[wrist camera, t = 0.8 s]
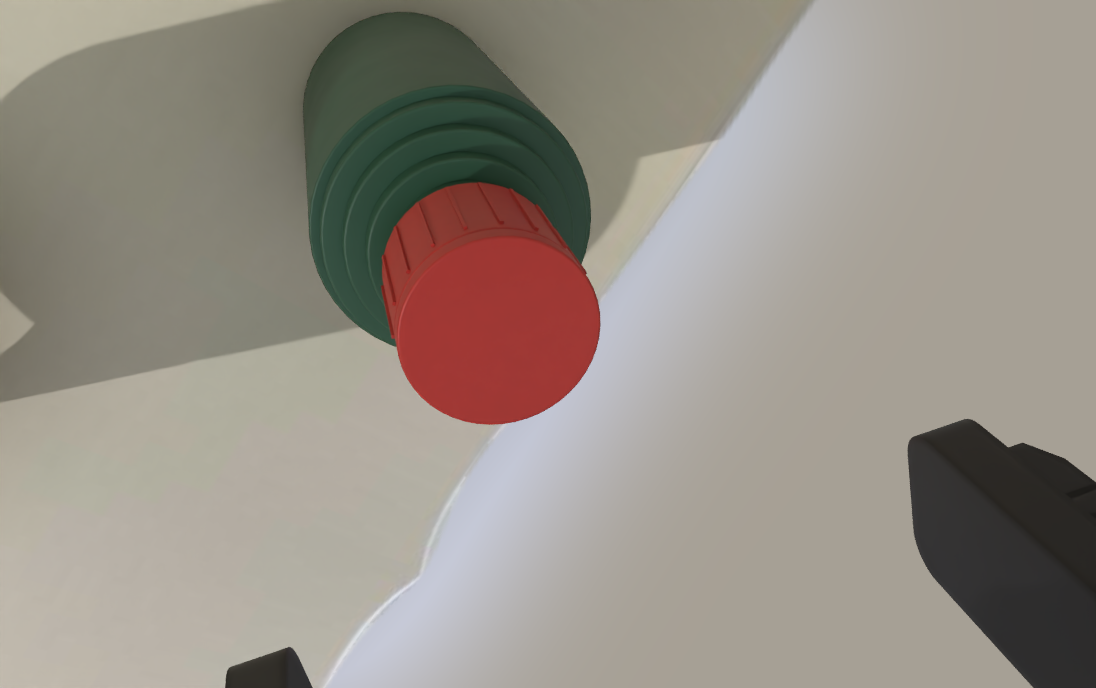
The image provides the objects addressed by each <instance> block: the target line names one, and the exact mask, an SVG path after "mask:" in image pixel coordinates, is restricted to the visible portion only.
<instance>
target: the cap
mask: <svg viewBox="0 0 1096 688" xmlns="http://www.w3.org/2000/svg"><path fill="white" fill-rule="evenodd" d="M393 229H394V230H393V231H392V233H391V235H390V238H389V240H388V242H387V245H386V249H385V252H384V255H382V262H383V264H382V279H383V285H381V290H382V295H383V300H384V304H385V309H386V314H387V319H388V323H389V328H390V333H391V338H392V339H394V338H395V342H396V347H397V351H398V356H399V359H400V363H401V366H402V369H403V371H404V373H405V375H406V377H407V379H408V381H409V382H410V384H411V385H412V387H413V388H414V389H415V391H416V392H417V393H418V394H419V395H420V396H421V397H422V398H423V399H424V400H425V401H426V402H428V403H429V404H430V405H431V406H433V407H434V408H436V409H437V410H439V411H440V412H442V413H444V414H447V415H449V416H451V417H453V418H456V419H459V420H462V421H466V422H471V423H476V424H489V425H490V424H505V423H511V422H516V421H519V420H523V419H527V418H529V417H532V416H534V415H537V414H539V413H541V412H543V411H545V410H546V409H548V408H550V407H551V406H553V405H554V404H556V403H557V402H559V401H560V400H561V399H562V398H564V397H565V396H566V395H567V394H568V393H569V392H570V391H571V390H572V389H573V388H574V387H575V386H576V385H577V384H578V382H579V381H580V380H581V378H582V377H583V375H584V374H585V373H586V371H587V369H588V367H589V365H590V363H591V361H592V359H593V356H594V354H595V351H596V348H597V344H598V340H599V332H600V311H599V305H598V300H597V297H596V294H595V291H594V289H593V287H592V285H591V283H590V281H589V279H588V277H587V276H586V274H587V273H586V271H585V269H584V268H583V266H582V265H581V264H580V262H579V261H578V259H577V258H576V256H575V255H574V254H573V252H572V251H571V249H570V248H569V247H568V245H567V244H566V242H565V241H564V240H563V238H562V237H561V235H560V234H559V233H558V231H557V230H556V228H554V227H553V225H552V224H551V222H550V221H549V220H548V218H547V217H546V215H545V214H544V213H543V211H542V210H541V208H540V207H539V206H538V205H537V204H536V205H534V204H533V203H532V202H530V201H529V200H528V199H527V198H525V197H523V196H522V195H520V194H518V193H517V192H515V191H514V190H513V189H511V188H510V189H508V188H505V187H501V186H498V185H494V184H487V183H481V182H478V183H464V184H457V185H453V186H449V187H445V188H443V189H441V190H438V191H436V192H434V193H432V194H430V195H428V196H426V197H424V198H423V199H422V200H420V201H419V202H417V203H415V205H414V206H413V207H411V208H410V209H409V210H408V211H407V212H406V213H405V214H404V216H403V217H402V218H401V219H400V221H399V222H398V223H397V225H396V226H394V228H393Z"/></svg>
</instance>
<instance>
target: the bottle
mask: <svg viewBox="0 0 1096 688" xmlns="http://www.w3.org/2000/svg"><path fill="white" fill-rule="evenodd" d="M303 118H304V139H305V159H306V179H307V199H308V219H309V238H310V244H311V250H312V255H313V258H314V262H315V265H316V268H317V271H318V273H319V276H320V278H321V280H322V282H323V284H324V286H325V288H326V290H327V291H328V293H329V294H330V296H331V297H332V299H333V300H334V302H335V303H336V304H337V305H338V306H339V308H340V309H341V310H342V311H343V312H344V313H345V314H346V316H348V317H349V318H350V319H351V320H352V321H353V322H354V323H356V324H357V325H358V326H359V327H360V328H362V329H363V330H365V331H366V332H368V333H369V334H371V335H372V336H374V337H376V338H378V339H380V340H382V341H384V342H386V343H388V344H390V345H393V346H395V347H396V342H395V338H394V339H392V338H391V333H390V328H389V323H388V319H387V314H386V309H385V304H384V300H383V295H382V290H381V285H383V279H382V264H383V262H382V255H384V252H385V249H386V245H387V242H388V240H389V238H390V235H391V233H392V231H393V230H394V229H393V228H394V226H396V225H397V223H398V222H399V221H400V219H401V218H402V217H403V216H404V214H405V213H406V212H407V211H408V210H409V209H410V208H411V207H413V206H414V205H415V203H417V202H419V201H420V200H422V199H423V198H424V197H426V196H428V195H430V194H432V193H434V192H436V191H438V190H441V189H443V188H445V187H449V186H453V185H457V184H464V183H478V182H481V183H487V184H494V185H498V186H501V187H505V188H508V189H510V188H511V189H513V190H514V191H515V192H517V193H518V194H520V195H522V196H523V197H525V198H527V199H528V200H529V201H530V202H532V203H533V204H534V205H536V204H537V205H538V206H539V207H540V208H541V210H542V211H543V213H544V214H545V215H546V217H547V218H548V220H549V221H550V222H551V224H552V225H553V227H554V228H556V230H557V231H558V233H559V234H560V235H561V237H562V238H563V240H564V241H565V242H566V244H567V245H568V247H569V248H570V249H571V251H572V252H573V254H574V255H575V256H576V258H577V259H578V261H579V262H580V264H582V261H583V258H584V255H585V253H586V248H587V244H588V239H589V234H590V223H591V209H590V197H589V192H588V186H587V182H586V179H585V176H584V173H583V170H582V167H581V165H580V163H579V161H578V159H577V157H576V154H575V152H574V151H573V149H572V148H571V146H570V145H569V143H568V142H567V140H566V139H565V137H564V136H563V135H562V134H561V133H560V131H559V130H558V129H557V128H556V127H555V126H554V125H553V124H552V123H551V122H550V120H549V119H548V118H547V117H546V116H545V115H544V114H543V113H542V112H541V111H540V110H539V109H538V108H537V107H536V106H535V105H534V104H533V103H532V102H531V101H530V100H529V99H528V98H527V97H526V96H525V95H524V94H523V93H522V92H521V91H520V90H519V89H518V88H517V87H516V86H515V85H514V84H513V83H512V81H511V80H510V79H509V78H508V77H507V76H506V75H505V74H504V73H503V72H502V71H501V70H500V69H499V68H498V67H497V66H496V65H495V64H494V63H493V62H492V61H491V60H490V59H489V58H488V57H487V56H486V55H485V54H484V53H483V52H482V51H481V50H480V49H479V48H478V47H477V46H476V45H475V44H474V42H473V41H471V40H470V39H469V38H468V37H467V36H466V35H465V34H463V33H462V32H461V31H459V30H458V29H456V28H455V27H453V26H452V25H450V24H448V23H446V22H443V21H441V20H439V19H436V18H433V17H430V16H427V15H423V14H417V13H408V12H395V13H385V14H381V15H377V16H372V17H370V18H367V19H365V20H362V21H359V22H358V23H356V24H354V25H352V26H350V27H349V28H347V29H346V30H344V31H343V32H342V33H340V34H339V35H338V36H337V37H336V38H334V39H333V40H332V41H331V42H330V43H329V44H328V45H327V47H326V48H325V49H324V51H323V52H322V53H321V55H320V56H319V58H318V59H317V61H316V63H315V65H314V66H313V68H312V71H311V73H310V76H309V78H308V81H307V85H306V89H305V94H304V103H303Z"/></svg>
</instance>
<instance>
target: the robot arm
mask: <svg viewBox="0 0 1096 688" xmlns="http://www.w3.org/2000/svg"><path fill="white" fill-rule="evenodd" d="M908 463H909V477H910V490H911V502H912V516H913V528H914V535H915V540H916V544H917V546H918V549H919V552H920V555H921V557H922V559H923V561H924V563H925V565H926V567H927V568H928V570H929V571H930V573H931V574H932V576H933V577H934V578H935V580H936V581H937V582H938V583H939V584H940V585H941V586H942V587H943V589H944V590H945V591H946V592H947V593H948V594H949V595H950V596H951V597H952V598H953V600H954V601H955V602H956V603H957V604H958V605H959V606H960V607H961V608H962V609H963V611H964V612H965V613H966V614H967V615H968V616H969V617H970V618H971V619H972V621H973V622H974V623H975V624H976V625H977V626H978V627H979V628H980V629H981V630H982V632H983V633H984V634H985V635H986V636H987V637H988V638H989V639H990V640H991V641H992V643H993V644H994V645H995V646H996V647H997V648H998V649H999V650H1000V651H1001V652H1002V654H1003V655H1004V656H1005V657H1006V658H1007V659H1008V660H1009V661H1010V662H1011V663H1012V664H1013V666H1014V667H1015V668H1016V669H1017V670H1018V671H1019V672H1020V673H1021V674H1022V676H1023V677H1024V678H1025V679H1026V680H1027V681H1028V682H1029V683H1030V684H1031V685H1032V686H1033V688H1096V482H1095V481H1093V480H1092V479H1091V478H1090V477H1088V476H1087V475H1086V474H1084V473H1083V472H1082V471H1080V470H1079V469H1078V468H1076V467H1075V466H1074V465H1072V464H1071V463H1070V462H1069V461H1067V460H1066V459H1064V458H1062V457H1059V456H1056V455H1054V454H1051V453H1049V452H1046V451H1043V450H1040V449H1038V448H1035V447H1033V446H1030V445H1027V444H1025V443H1020V444H1017V445H1014V446H1012V447H1009V448H1008V447H1007V446H1005V445H1004V444H1003V443H1002V442H1001V441H999V440H998V439H997V438H995V437H994V436H993V435H992V434H991V433H989V432H988V431H987V430H986V429H984V428H983V427H982V426H981V425H980V424H978V423H977V422H975V421H973V420H970V419H964V420H961V421H958V422H955V423H952V424H950V425H947V426H944V427H941V428H938V429H935V430H932V431H929V432H926V433H923V434H920V435H917V436H914V437H912V438H911V440H910V441H909V444H908ZM225 688H312V686H311V683H310V681H309V679H308V677H307V675H306V673H305V670H304V668H303V666H302V664H301V662H300V660H299V658H298V656H297V654H296V652H295V651H294V650H293V649H292V648H291V647H288V648H285V649H282V650H279V651H276V652H273V653H270V654H267V655H265V656H262V657H259V658H256V659H253V660H250V661H247V662H244V663H241V664H238V665H235V666H232V667H230V668H229V669H228V671H227V675H226V686H225Z"/></svg>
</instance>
